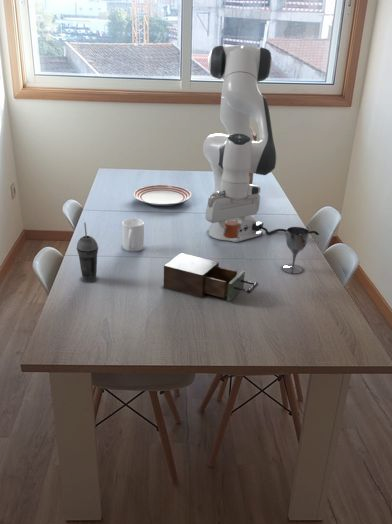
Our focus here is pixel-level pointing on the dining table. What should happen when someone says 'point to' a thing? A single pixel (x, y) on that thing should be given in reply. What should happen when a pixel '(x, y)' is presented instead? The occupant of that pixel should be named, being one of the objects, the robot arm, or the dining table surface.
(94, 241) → the beverage cup
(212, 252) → the dining table surface
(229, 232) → the orange cylinder puck
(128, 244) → the mug
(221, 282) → the drawer
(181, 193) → the dinner plate
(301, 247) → the wine glass
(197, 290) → the cabinet
